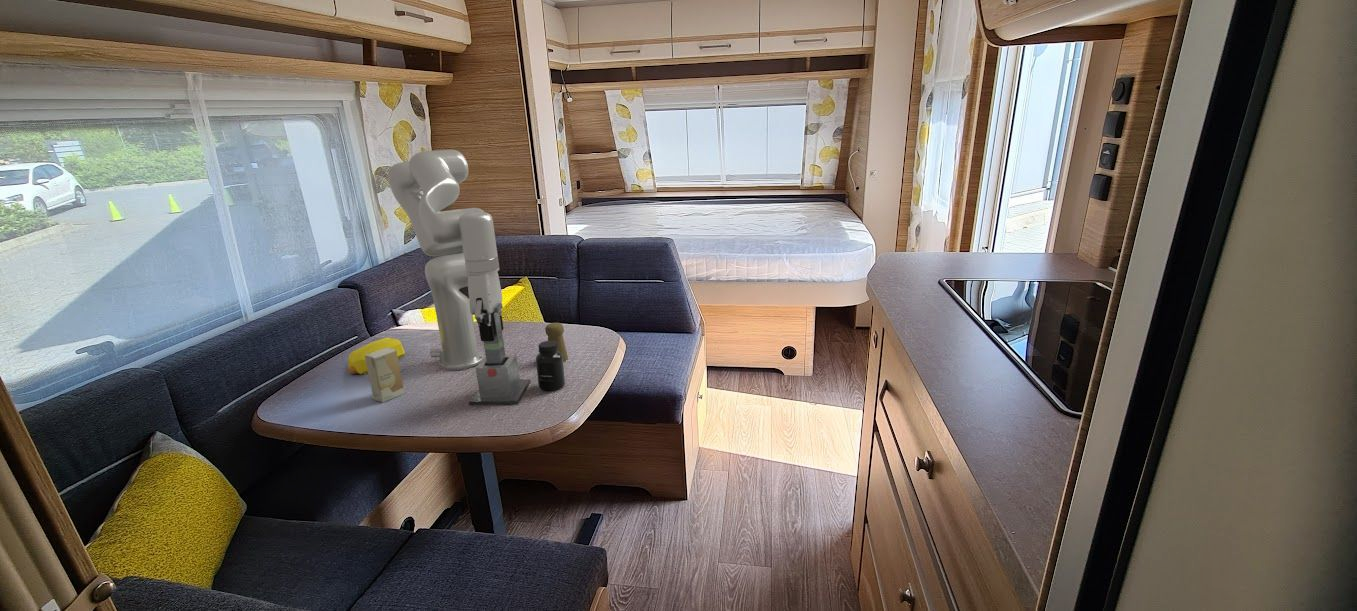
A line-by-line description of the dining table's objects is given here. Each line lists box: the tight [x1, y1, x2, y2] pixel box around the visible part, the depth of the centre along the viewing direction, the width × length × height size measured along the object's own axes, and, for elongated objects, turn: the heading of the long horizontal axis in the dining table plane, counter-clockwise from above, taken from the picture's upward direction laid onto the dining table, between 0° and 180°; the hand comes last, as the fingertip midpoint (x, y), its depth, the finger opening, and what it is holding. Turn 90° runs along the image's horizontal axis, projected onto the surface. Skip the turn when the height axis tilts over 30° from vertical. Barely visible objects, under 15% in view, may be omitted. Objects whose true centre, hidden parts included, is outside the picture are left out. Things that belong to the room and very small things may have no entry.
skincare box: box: [365, 348, 405, 403], centre depth 145 cm, size 6×4×12 cm
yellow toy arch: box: [347, 336, 406, 375], centre depth 166 cm, size 18×7×8 cm
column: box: [482, 302, 506, 366], centre depth 141 cm, size 6×4×17 cm, turn 89°
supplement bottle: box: [535, 340, 566, 393], centre depth 147 cm, size 7×7×12 cm
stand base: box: [468, 354, 531, 406], centre depth 145 cm, size 12×12×9 cm
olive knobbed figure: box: [544, 322, 569, 363], centre depth 164 cm, size 6×6×11 cm
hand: (492, 334), depth 141 cm, fingers open, 6 cm apart
